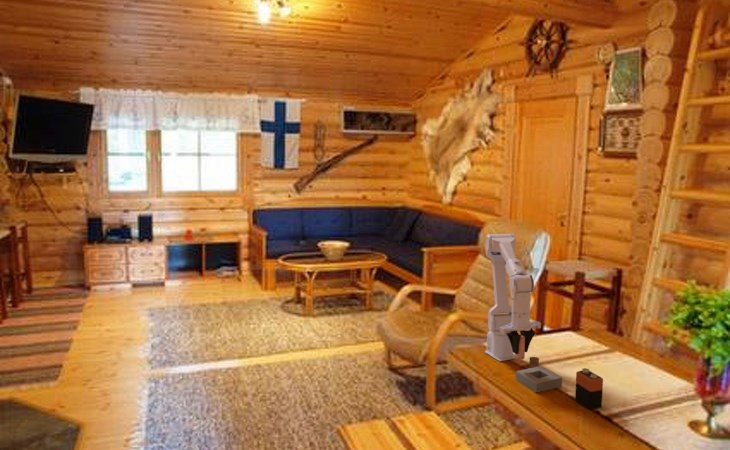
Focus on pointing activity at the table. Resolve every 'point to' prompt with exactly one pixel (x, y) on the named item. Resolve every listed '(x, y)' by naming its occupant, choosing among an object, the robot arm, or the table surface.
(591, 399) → the battery
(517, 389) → the table surface
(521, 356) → the long peg
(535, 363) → the short peg
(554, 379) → the hole block
